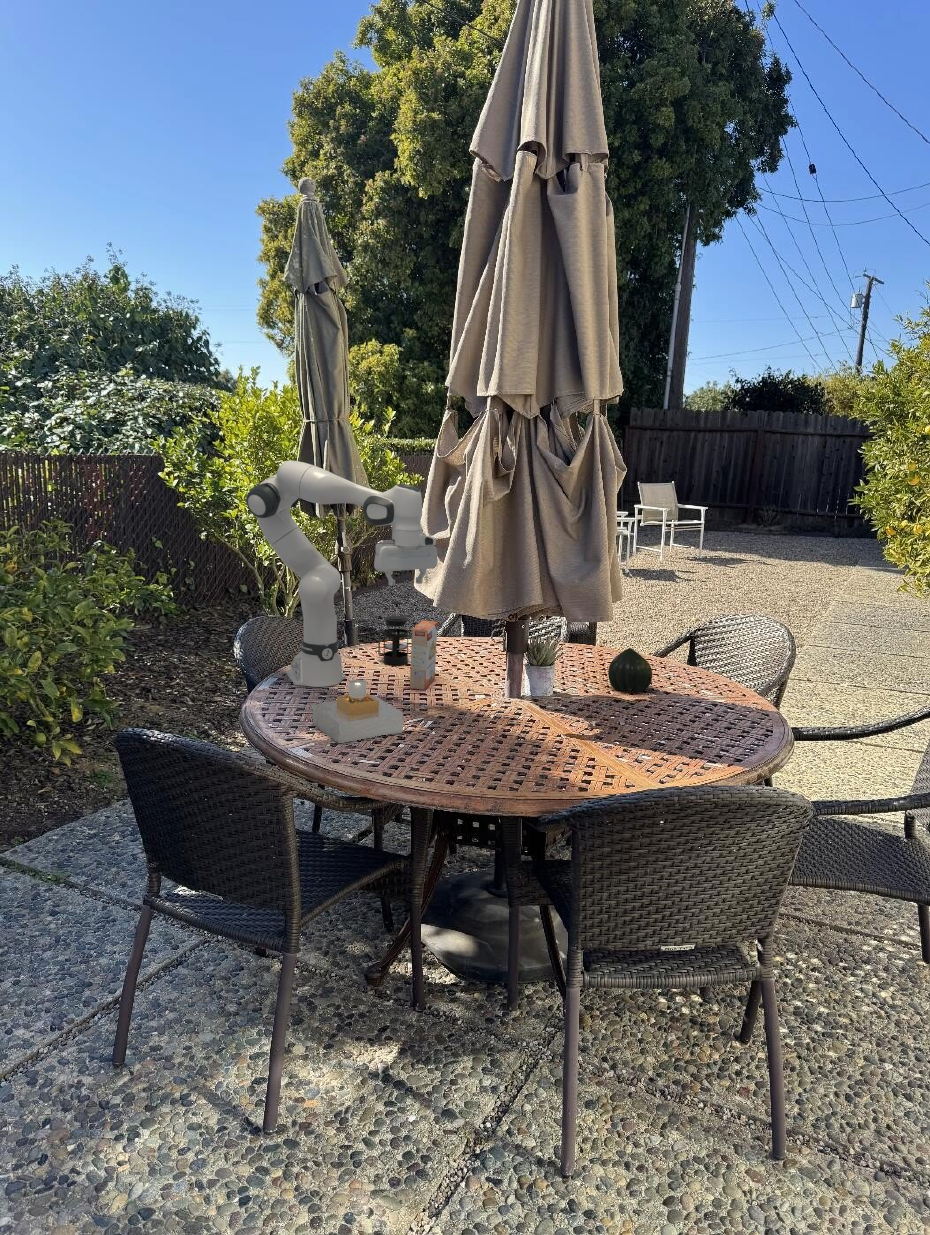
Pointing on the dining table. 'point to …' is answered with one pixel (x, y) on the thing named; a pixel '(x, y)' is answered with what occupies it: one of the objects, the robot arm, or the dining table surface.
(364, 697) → the clear glass cup
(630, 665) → the squash
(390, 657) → the french press
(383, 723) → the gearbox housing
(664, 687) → the dining table surface
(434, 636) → the cracker box
